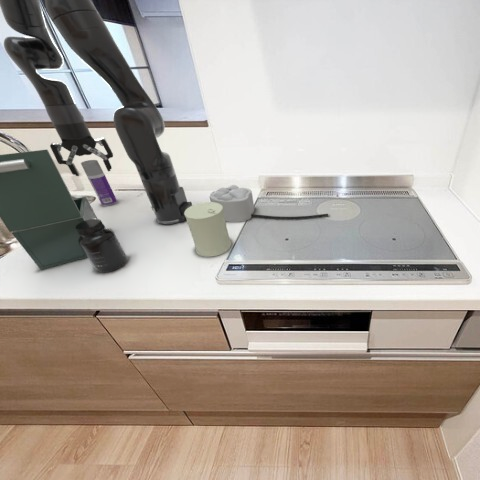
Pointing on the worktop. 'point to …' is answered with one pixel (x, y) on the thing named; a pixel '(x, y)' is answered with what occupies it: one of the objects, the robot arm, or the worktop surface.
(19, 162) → the bin lid
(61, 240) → the trash bin
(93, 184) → the container
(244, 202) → the lumpy-topped squat cylinder
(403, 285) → the worktop surface
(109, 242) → the supplement bottle
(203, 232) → the can
